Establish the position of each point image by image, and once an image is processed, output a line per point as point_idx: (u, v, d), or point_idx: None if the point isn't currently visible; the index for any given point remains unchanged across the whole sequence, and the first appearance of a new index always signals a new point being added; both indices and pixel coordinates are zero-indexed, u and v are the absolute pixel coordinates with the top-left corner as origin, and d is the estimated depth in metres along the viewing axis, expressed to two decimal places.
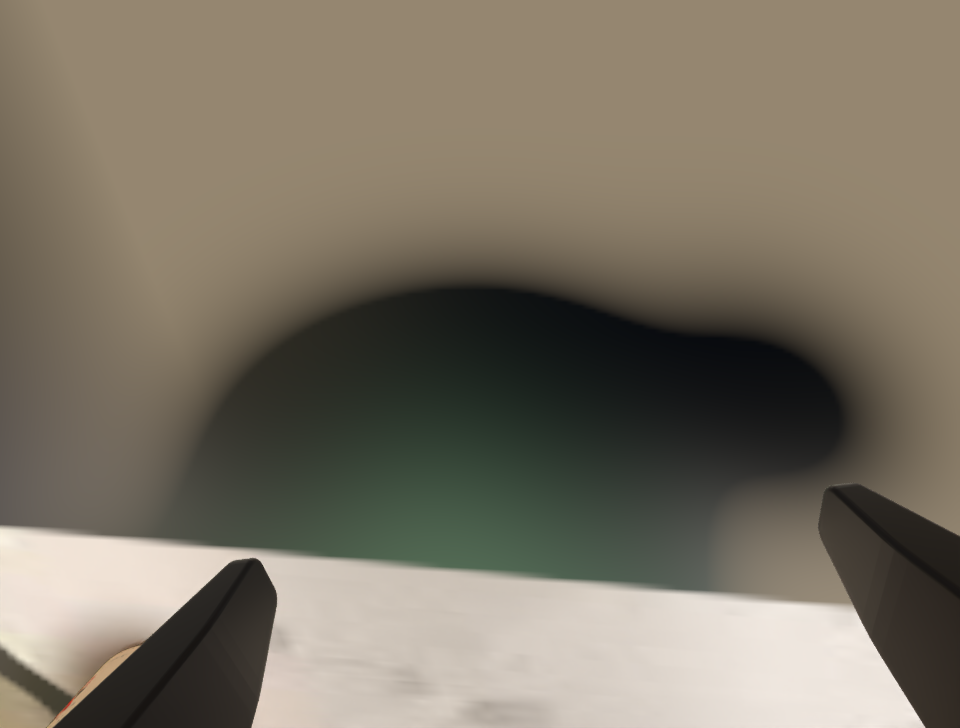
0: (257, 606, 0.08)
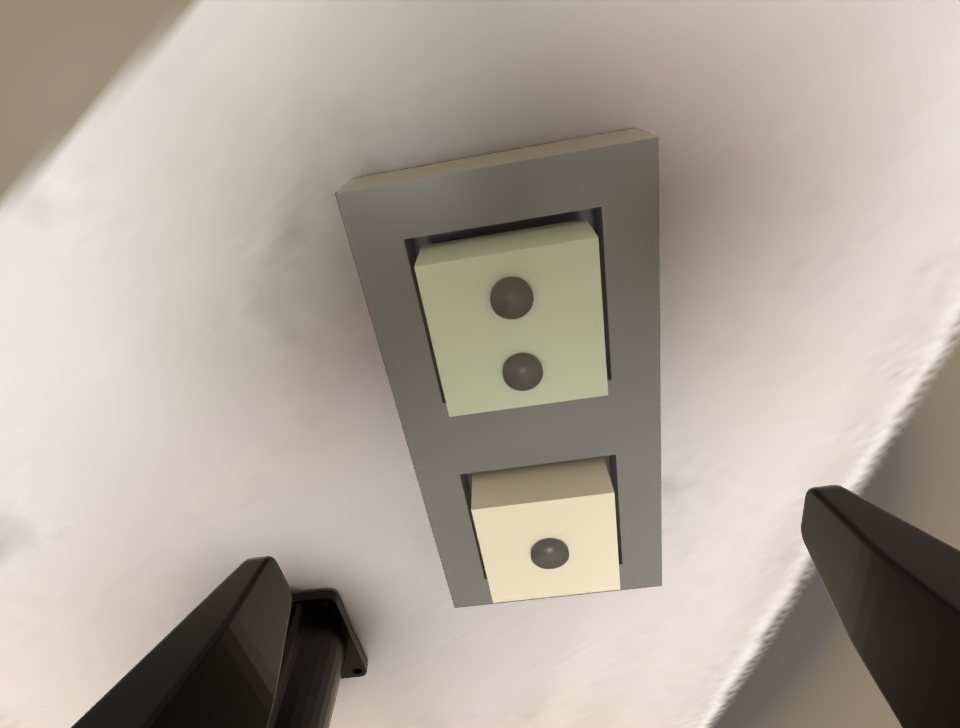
0: (273, 604, 0.08)
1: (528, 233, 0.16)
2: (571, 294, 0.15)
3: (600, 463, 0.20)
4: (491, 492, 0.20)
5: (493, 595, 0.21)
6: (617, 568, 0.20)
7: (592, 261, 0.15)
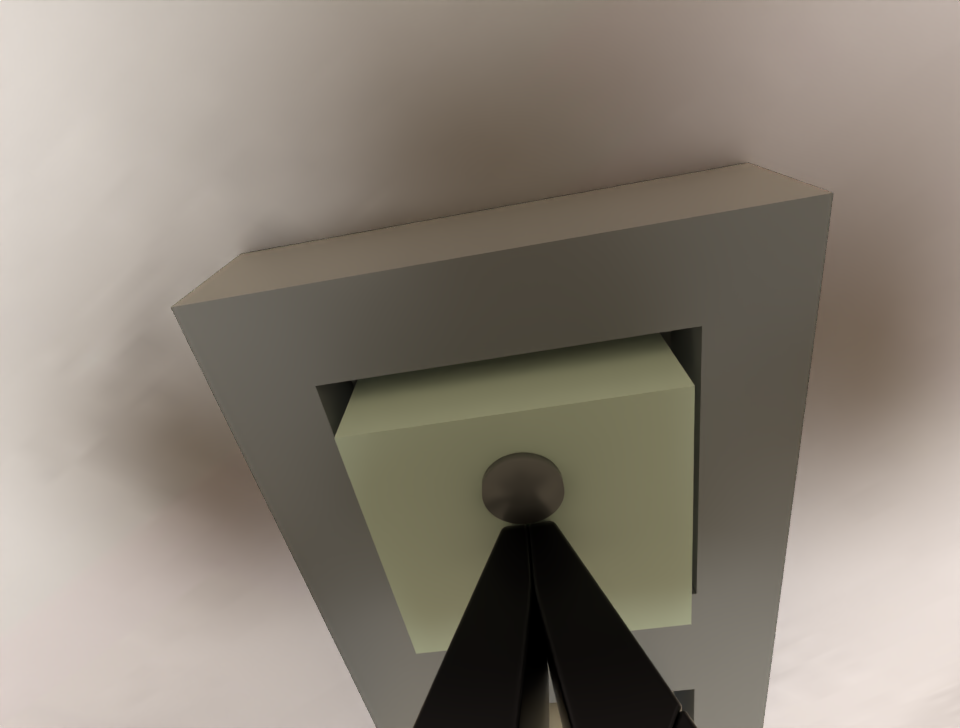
0: None
1: (551, 355, 0.09)
2: (636, 481, 0.08)
3: None
4: None
5: None
6: None
7: (679, 426, 0.07)
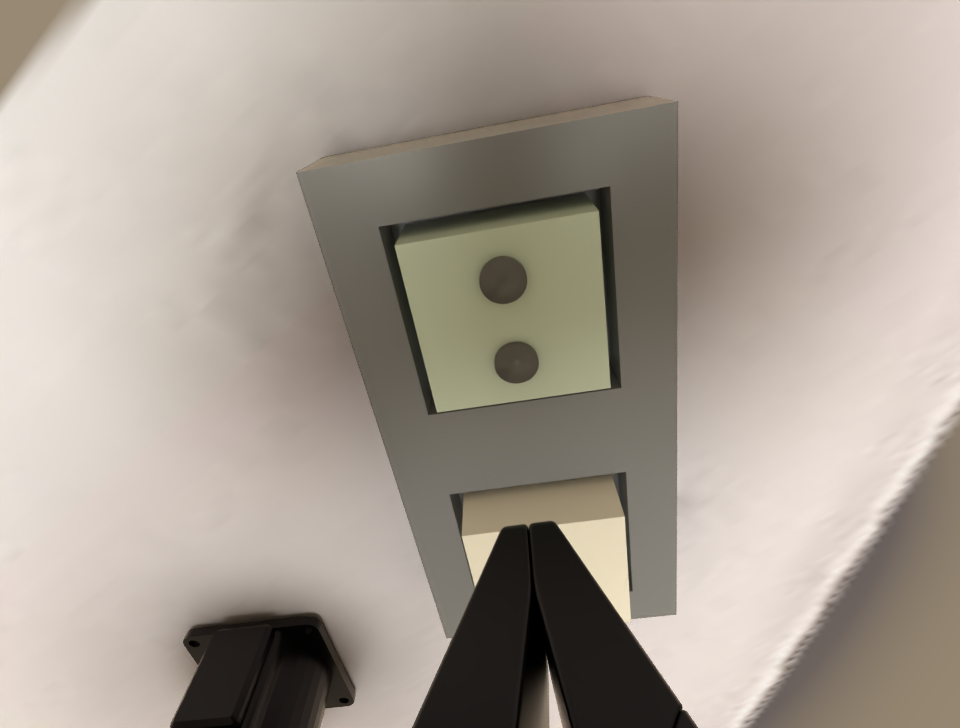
0: None
1: (521, 209, 0.14)
2: (569, 276, 0.14)
3: (608, 481, 0.18)
4: (484, 515, 0.17)
5: None
6: (627, 599, 0.18)
7: (592, 238, 0.13)
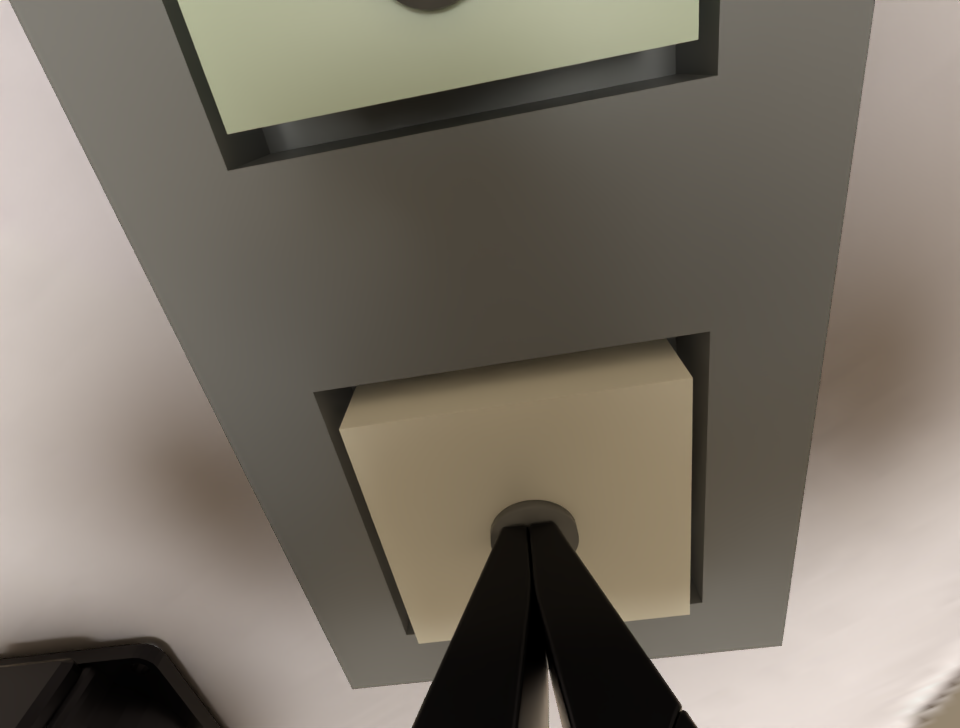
0: None
1: None
2: None
3: None
4: (395, 394, 0.08)
5: (417, 630, 0.10)
6: (686, 569, 0.09)
7: None
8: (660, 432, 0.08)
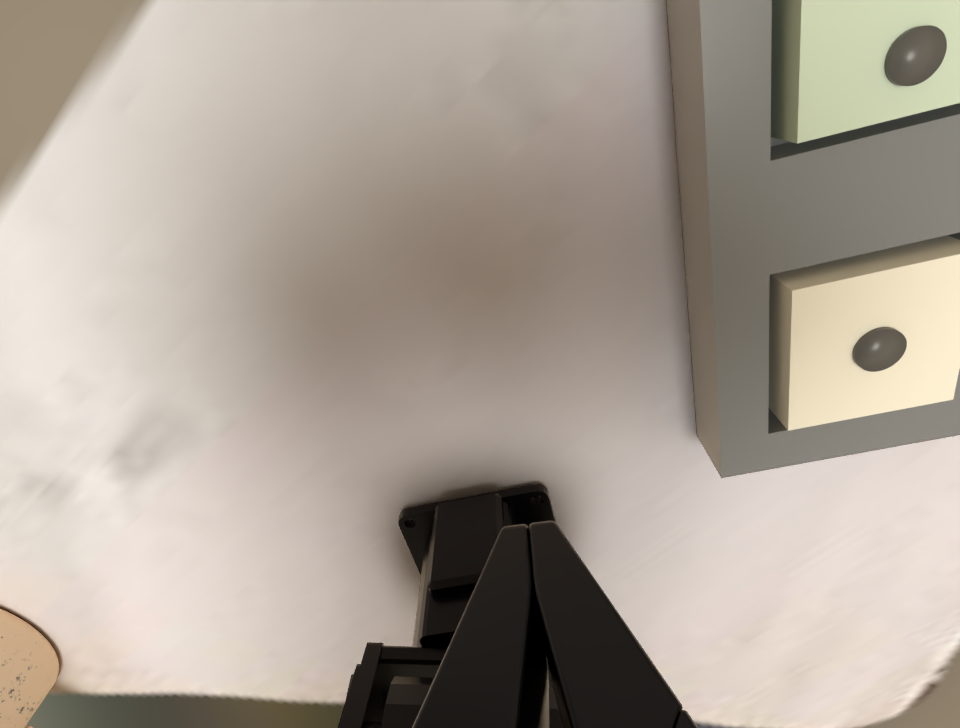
0: None
1: None
2: None
3: None
4: (805, 275, 0.16)
5: (790, 420, 0.17)
6: (957, 367, 0.16)
7: None
8: None
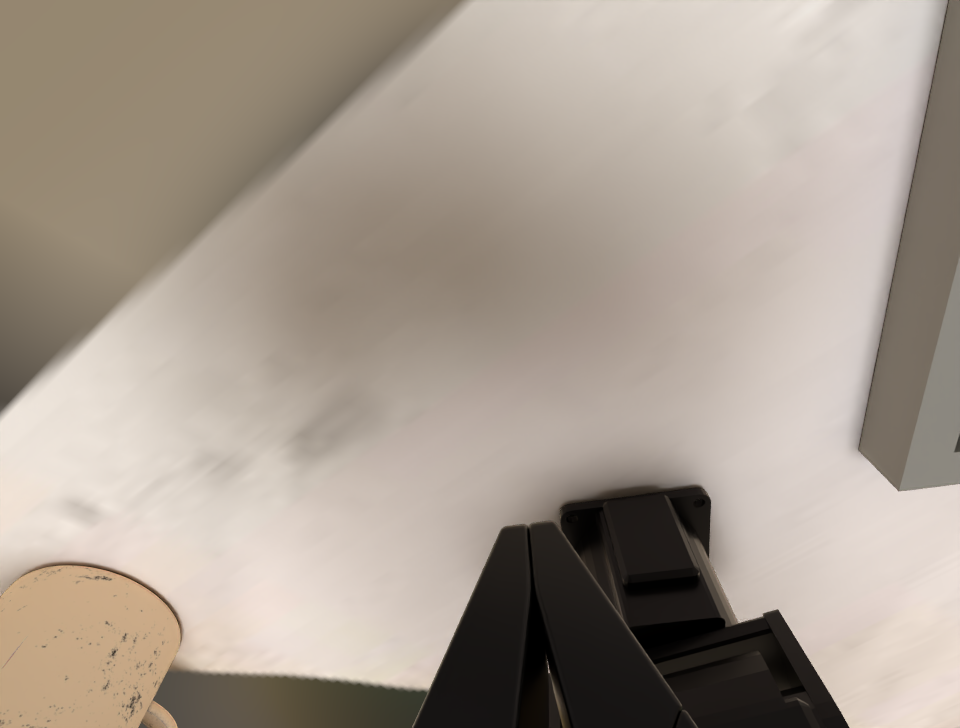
0: None
1: None
2: None
3: None
4: None
5: None
6: None
7: None
8: None
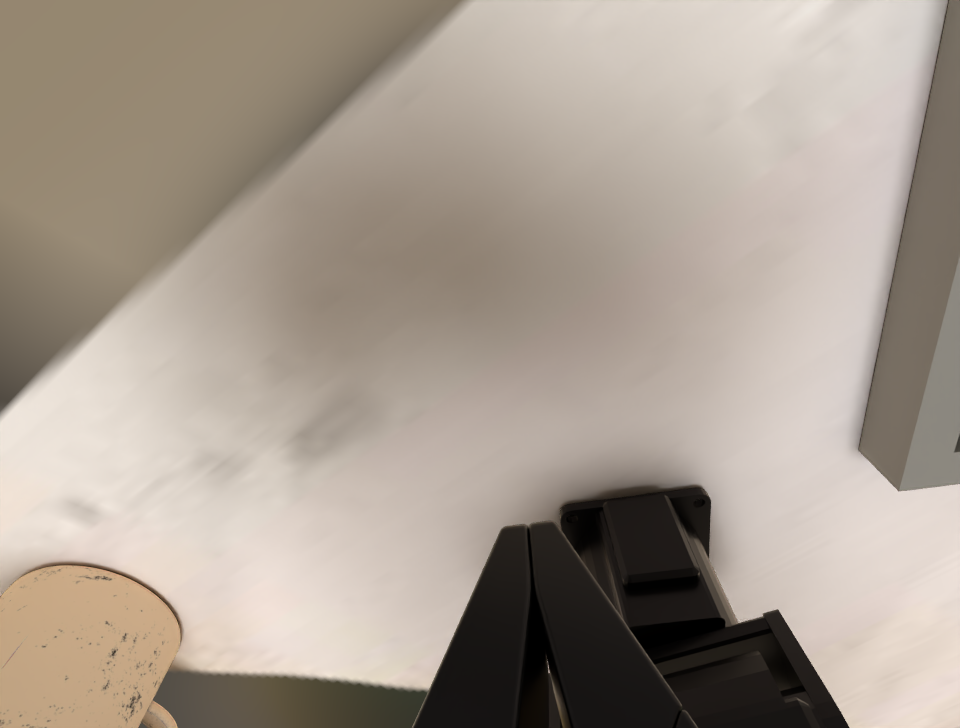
0: None
1: None
2: None
3: None
4: None
5: None
6: None
7: None
8: None
